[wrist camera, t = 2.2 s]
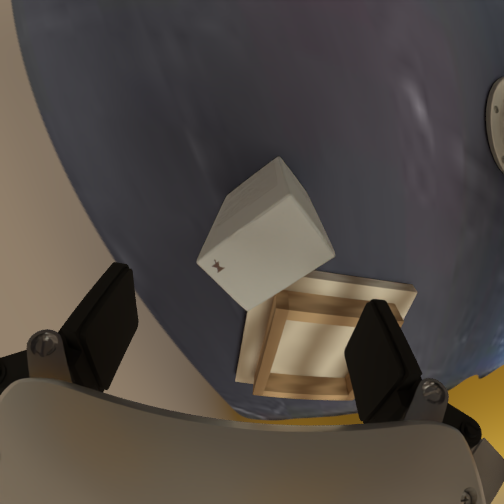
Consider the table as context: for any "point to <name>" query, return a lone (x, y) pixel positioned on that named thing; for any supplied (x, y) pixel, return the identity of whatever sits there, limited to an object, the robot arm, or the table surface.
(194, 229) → the table surface
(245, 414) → the table surface
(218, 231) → the skincare box
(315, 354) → the socket stand
